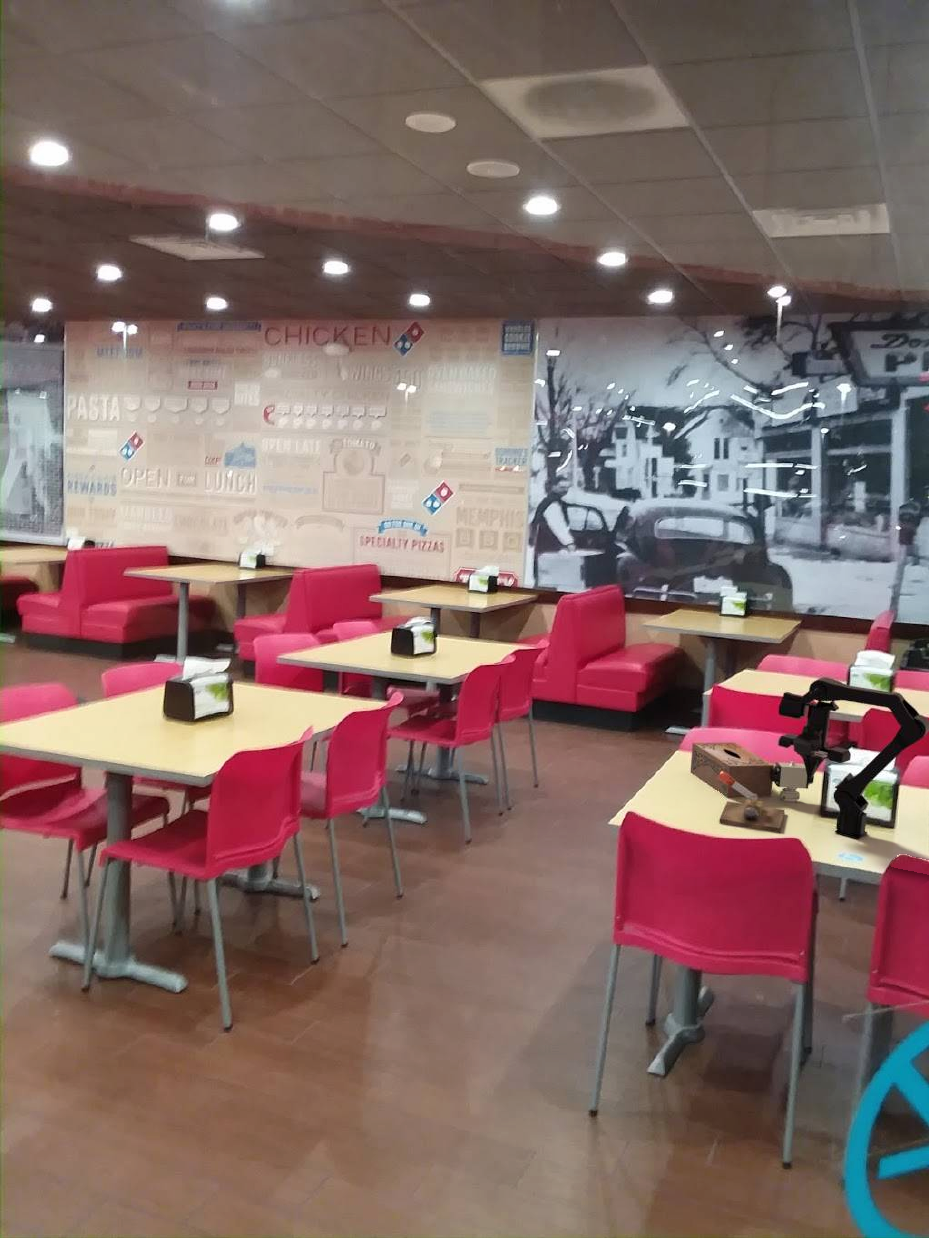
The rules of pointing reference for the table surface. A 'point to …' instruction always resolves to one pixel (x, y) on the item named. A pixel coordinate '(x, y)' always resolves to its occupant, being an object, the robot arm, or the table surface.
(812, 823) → the table surface
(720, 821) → the mounting board
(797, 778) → the pneumatic valve
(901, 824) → the table surface
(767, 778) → the tissue box cover
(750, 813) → the valve body
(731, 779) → the lever
